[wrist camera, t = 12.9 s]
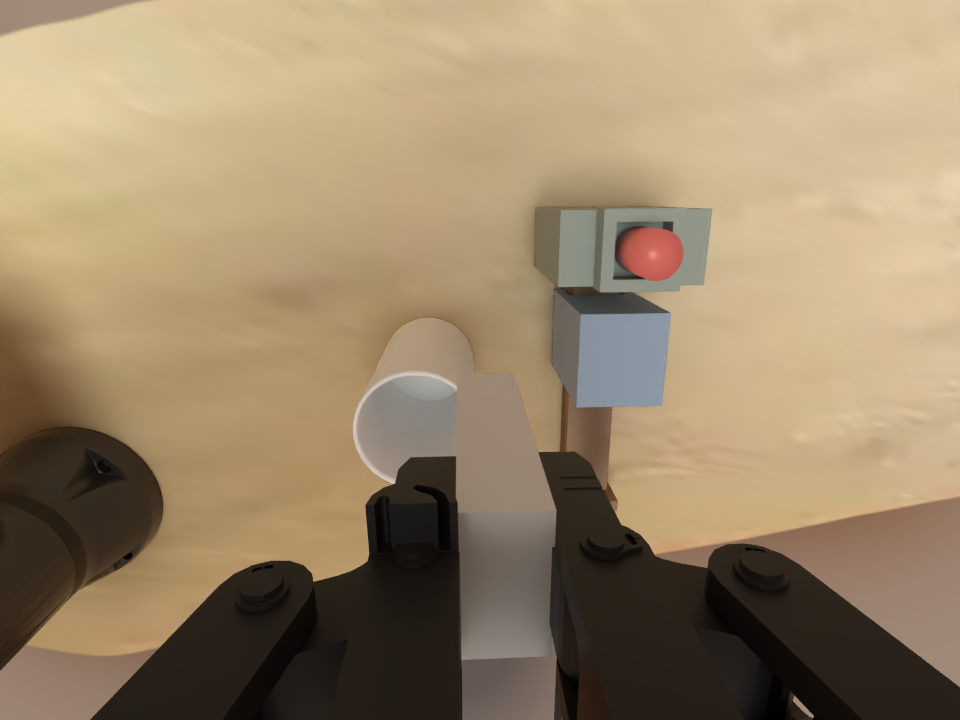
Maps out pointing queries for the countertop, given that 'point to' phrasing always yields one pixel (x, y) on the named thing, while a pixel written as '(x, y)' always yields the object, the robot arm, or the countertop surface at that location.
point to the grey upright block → (591, 245)
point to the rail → (588, 426)
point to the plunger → (649, 252)
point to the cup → (412, 397)
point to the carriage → (610, 349)
